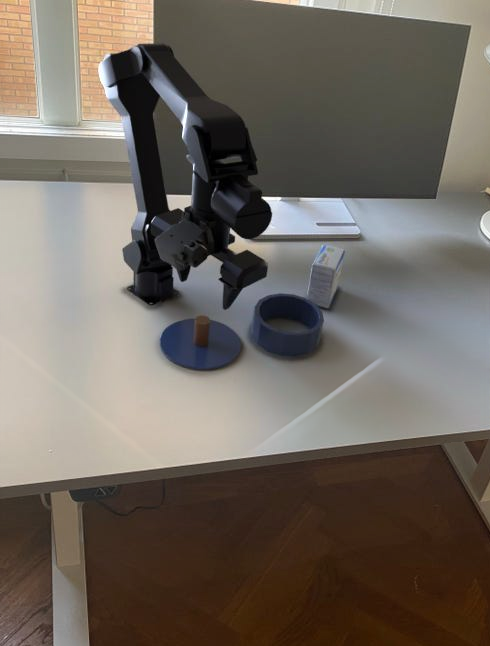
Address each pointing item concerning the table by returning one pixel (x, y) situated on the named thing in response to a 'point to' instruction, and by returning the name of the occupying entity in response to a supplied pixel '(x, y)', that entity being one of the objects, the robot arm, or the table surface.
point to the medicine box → (325, 275)
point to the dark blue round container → (282, 340)
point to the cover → (200, 343)
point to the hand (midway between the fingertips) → (204, 294)
